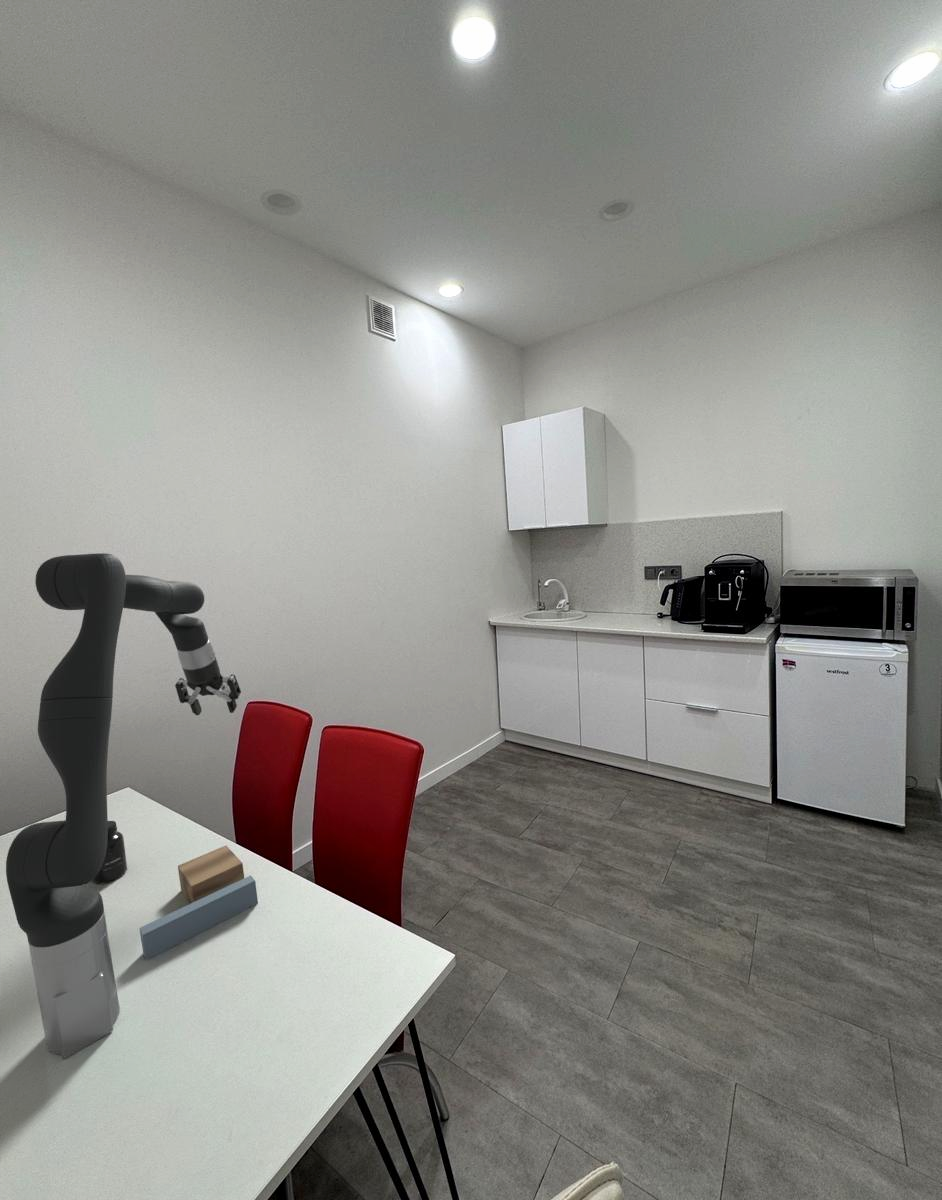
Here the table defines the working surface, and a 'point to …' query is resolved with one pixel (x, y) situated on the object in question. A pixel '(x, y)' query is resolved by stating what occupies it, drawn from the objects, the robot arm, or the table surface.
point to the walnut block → (209, 873)
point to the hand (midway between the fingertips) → (216, 712)
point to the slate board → (197, 917)
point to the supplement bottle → (112, 857)
